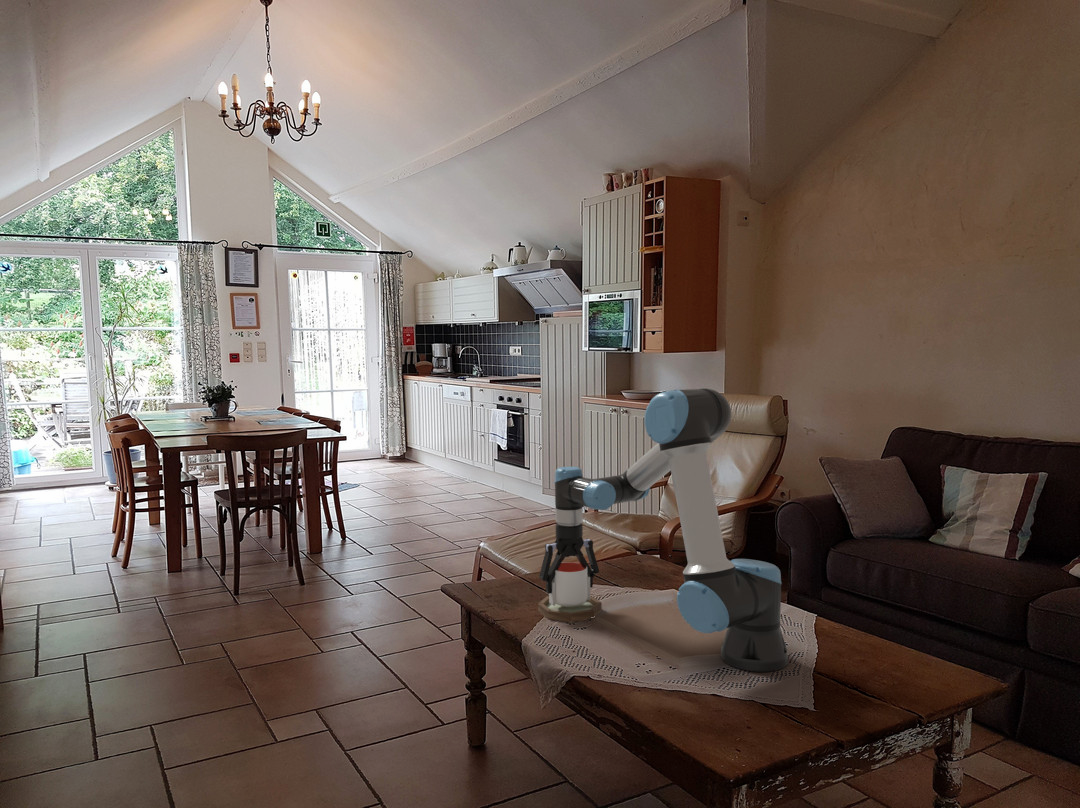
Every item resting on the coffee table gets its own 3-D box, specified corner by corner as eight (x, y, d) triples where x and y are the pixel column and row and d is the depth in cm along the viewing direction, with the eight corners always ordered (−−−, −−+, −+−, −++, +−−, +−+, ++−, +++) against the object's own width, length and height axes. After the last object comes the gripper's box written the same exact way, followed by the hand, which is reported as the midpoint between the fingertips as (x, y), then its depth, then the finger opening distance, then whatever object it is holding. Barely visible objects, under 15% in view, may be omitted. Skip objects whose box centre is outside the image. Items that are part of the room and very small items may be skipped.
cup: (588, 608, 208) (588, 572, 208) (551, 608, 209) (551, 572, 208) (586, 596, 218) (586, 561, 218) (551, 596, 219) (551, 562, 218)
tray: (609, 615, 209) (609, 607, 209) (555, 624, 203) (555, 616, 203) (583, 597, 224) (583, 590, 224) (531, 606, 218) (531, 598, 218)
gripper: (598, 516, 220) (599, 591, 221) (526, 524, 211) (527, 603, 212) (611, 521, 213) (611, 599, 214) (536, 530, 204) (537, 611, 205)
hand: (569, 601), depth 213 cm, fingers closed on cup, 10 cm apart
